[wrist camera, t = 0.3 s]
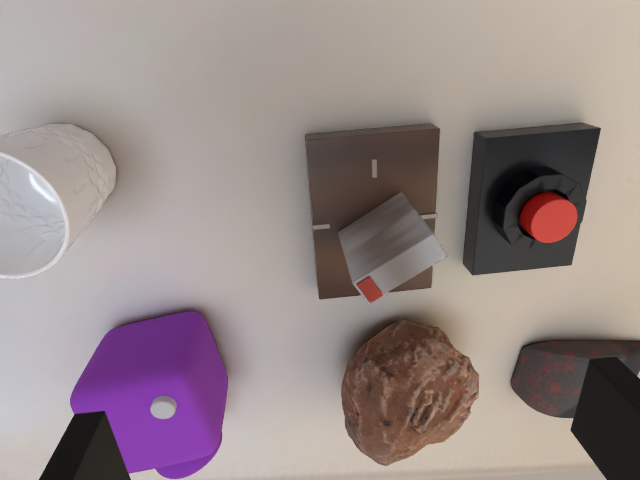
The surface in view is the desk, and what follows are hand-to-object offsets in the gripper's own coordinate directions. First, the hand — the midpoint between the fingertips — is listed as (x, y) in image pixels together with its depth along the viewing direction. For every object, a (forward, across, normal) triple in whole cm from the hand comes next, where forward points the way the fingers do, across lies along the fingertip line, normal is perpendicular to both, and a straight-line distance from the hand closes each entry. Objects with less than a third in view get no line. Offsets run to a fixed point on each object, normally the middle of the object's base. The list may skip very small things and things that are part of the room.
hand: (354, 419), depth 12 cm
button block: (+25, +18, -4) cm, 31 cm away
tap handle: (+23, +5, -4) cm, 24 cm away
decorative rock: (+25, +7, -20) cm, 33 cm away
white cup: (+25, -18, +2) cm, 31 cm away
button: (+22, +18, -4) cm, 28 cm away
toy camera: (+25, -14, -18) cm, 34 cm away
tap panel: (+25, +5, -4) cm, 26 cm away
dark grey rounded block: (+25, +27, -24) cm, 44 cm away
